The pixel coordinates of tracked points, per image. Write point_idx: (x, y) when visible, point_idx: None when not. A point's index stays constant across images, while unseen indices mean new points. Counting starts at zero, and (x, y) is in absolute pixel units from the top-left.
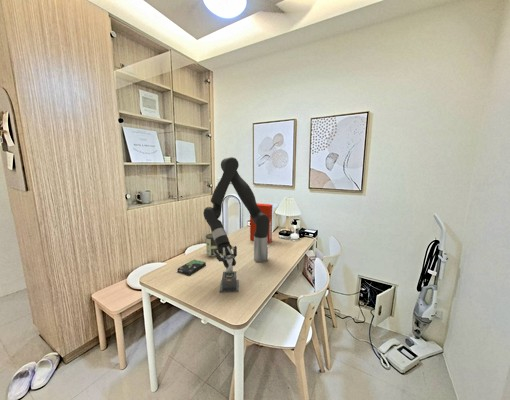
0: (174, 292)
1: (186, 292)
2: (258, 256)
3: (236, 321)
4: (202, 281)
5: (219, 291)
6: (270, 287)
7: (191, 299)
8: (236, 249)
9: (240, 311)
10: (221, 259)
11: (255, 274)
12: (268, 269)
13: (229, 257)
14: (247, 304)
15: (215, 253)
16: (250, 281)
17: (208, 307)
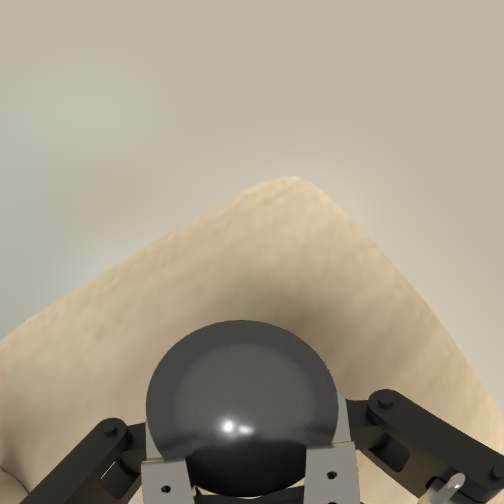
0: (491, 421)
1: (460, 414)
2: (8, 497)
3: (302, 184)
4: (381, 497)
5: (328, 370)
6: (84, 292)
7: (447, 357)
8: (44, 482)
9: (274, 214)
10: (379, 394)
11: (75, 427)
12: (18, 415)
13: (266, 324)
14: (231, 235)
15: (490, 449)
16: (125, 389)
17: (389, 281)
